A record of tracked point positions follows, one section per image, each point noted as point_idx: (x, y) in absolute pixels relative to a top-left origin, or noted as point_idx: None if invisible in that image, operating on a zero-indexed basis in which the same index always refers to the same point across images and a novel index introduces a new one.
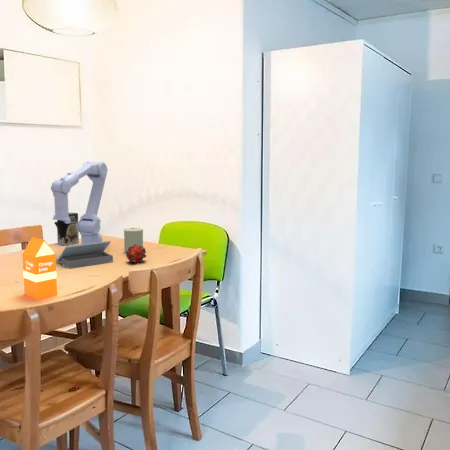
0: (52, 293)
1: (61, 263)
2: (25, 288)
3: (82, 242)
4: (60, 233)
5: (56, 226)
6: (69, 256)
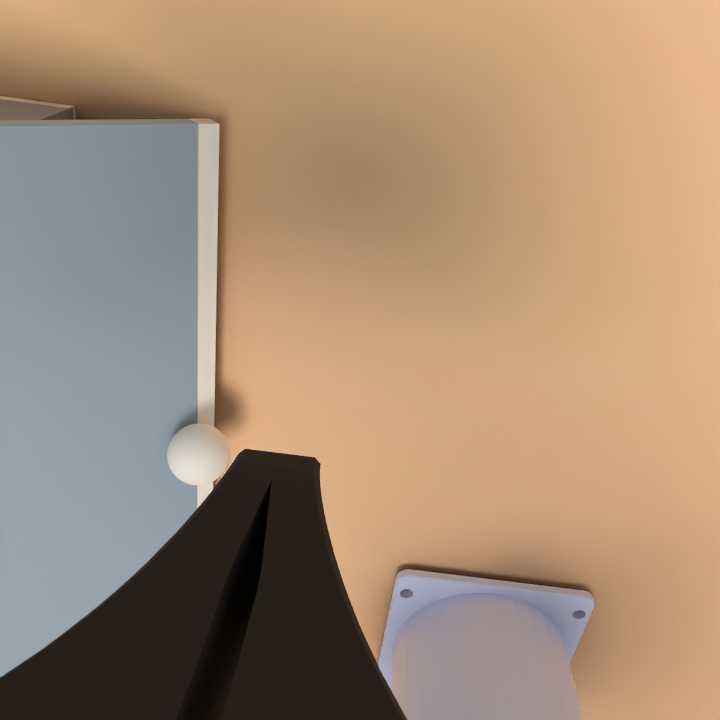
0: None
1: (60, 107)
2: None
3: (502, 706)
4: (194, 516)
5: (382, 697)
6: (60, 278)
